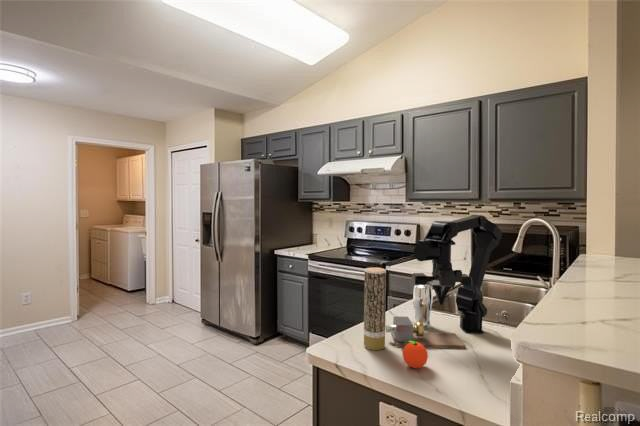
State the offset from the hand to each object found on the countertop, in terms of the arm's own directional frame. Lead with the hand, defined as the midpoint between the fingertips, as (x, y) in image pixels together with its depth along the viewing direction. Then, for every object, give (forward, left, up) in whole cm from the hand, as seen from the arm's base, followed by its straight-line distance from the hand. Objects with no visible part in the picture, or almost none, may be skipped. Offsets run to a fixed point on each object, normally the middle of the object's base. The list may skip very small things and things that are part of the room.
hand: (440, 304), depth 117 cm
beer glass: (+3, -12, -12) cm, 17 cm away
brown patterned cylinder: (+23, +7, -12) cm, 27 cm away
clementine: (+13, +19, -12) cm, 26 cm away
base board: (+5, +2, -12) cm, 13 cm away
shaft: (+12, +2, -10) cm, 16 cm away
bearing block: (+13, +2, -12) cm, 18 cm away
